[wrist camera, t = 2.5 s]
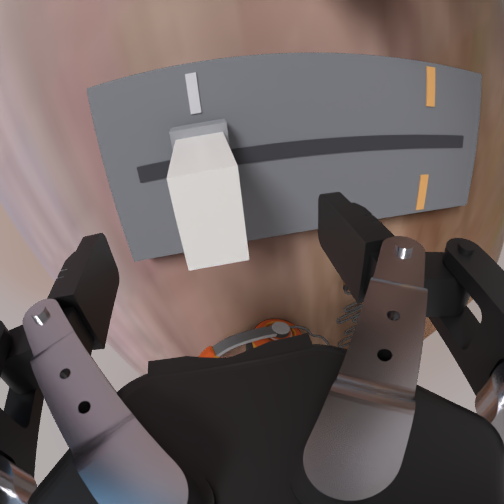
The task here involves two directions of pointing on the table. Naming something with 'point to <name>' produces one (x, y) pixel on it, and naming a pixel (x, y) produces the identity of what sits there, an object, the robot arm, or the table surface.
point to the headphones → (274, 333)
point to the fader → (207, 195)
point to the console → (292, 137)
